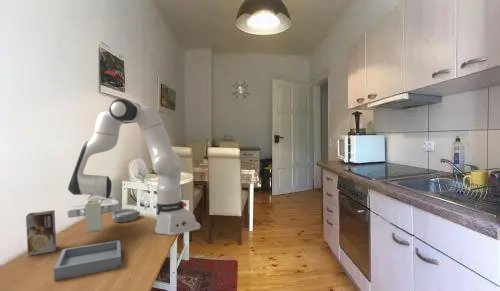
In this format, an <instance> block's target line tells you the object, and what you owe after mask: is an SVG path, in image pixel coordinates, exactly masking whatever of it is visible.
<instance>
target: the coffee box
mask: <svg viewBox="0 0 500 291" xmlns="http://www.w3.org/2000/svg"><path fill="white" fill-rule="evenodd" d="M25 226H26V243H27V256H33V255H40V254H46V253H51V252H52V253H53V252H56V249H57V235H56V234H57V233H56V214H55V209H54V210H45V211H38V212H37V211H35V212H29V213H27V215H26V216H25Z"/></svg>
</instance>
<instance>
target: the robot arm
mask: <svg viewBox="0 0 500 291" xmlns="http://www.w3.org/2000/svg"><path fill="white" fill-rule="evenodd" d="M135 123H136V124H137V125H138V127H139V129H140V132H141V134H142V136H143V138H144V141H145V143H146V146H147V148H148V152H149V156H150V161H151V163H152V170H153V171H154V172H155V174H156V175H158V179H157V180H158V181H157V186H156V206H155V209H156V223H155V228H154V233H155V234H158V235H167V236H175V235H179V234H180V235H181V234H184V233H188V232H192V231H196V230H197V231H198V230H200V229H201V224H200V223H199V222H198V221H197V220H196V219H197V218H196V216H195V215H194V213H193V212H191V211H190V210H188V209H187V208H186V207H187V203H186V202H185V201H182V200H181V190H180V189H181V175H182V174H181V173H182V159H181V157H180V155H179V154H178V153H176V152H174V151H173V148H172V145H171V140H170V136H169V135H168V131H167V130H166V127H165V125H164V122H163V121H162V118H161V117H160V115H159V113H158V110H156V108H155V107H153V106H150V105H146V106H141V105H140V104H138V103H137V102H135V101H133V100H130V99H126V98H122V97H121V98H116V99H114V100H112V101H111V102H110V104H109V106H108V110H105V111H101V112H100V113H99V114H98V115H97V117H96V120H95V125H94V129H93V134H92V136H91V138H90V140H88V141H85V142H84V144H83V146H82V148H81V150H80V152H79V155H78V158H77V162H76V164H75V167H74V170H73V172H72V175H71V176H70V179H69V181H68V183H67V190H68V191H69V193H70V194H72V195H73V196H78V195H79V196H80V195H85V196H86V195H88V196H89V197H88V198H87V199H86V201H91V200H99V199H101V214H102V215H104V214H106V213H113V212H115V211H119V210H120V208H121V207H120V202H119V200H118V199H116V197H115V196H114V197H113V196H111V192H112V184H113V183H112V180H111V179H110V177H109V175H99V174H97V175H95V174H86V173H84V171H85V168H86V165H87V163H88V160H89V158H90V157H91V156H93V155H97V154H101V153H105V152H109V151H110V150H113V149H114V148H115V147H116V146H117V144H118V141H119V137H120V136H119V134H120V130H121V126H122V125H124V124H135ZM110 196H111V197H110ZM79 217H86V212H85V204H80V205H75V206H74V205H72V206H71V207H69V208H68V209H67V218H70V219H71V218H79Z"/></svg>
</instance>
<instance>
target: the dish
mask: <svg viewBox="0 0 500 291" xmlns="http://www.w3.org/2000/svg"><path fill="white" fill-rule="evenodd" d="M140 214H141V212H140V210H137V209H134V208H121V209H120V210H119V211H115V212H112V221H113V222H114V223H116V222H123V223H128V222H127V221H129V222H132V221H135V220H136V219H137V218H138V216H140Z"/></svg>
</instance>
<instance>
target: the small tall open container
mask: <svg viewBox="0 0 500 291" xmlns="http://www.w3.org/2000/svg"><path fill="white" fill-rule="evenodd" d="M84 205H85V212H86V216H85V224H86V225H85V227H86V228H85V229H86V234H91V233H97V232H102V231H103V219H102V217H103V216H102V215H103V214H101V199H99V200H91V201H87V200H86V201H85V203H84Z"/></svg>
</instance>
